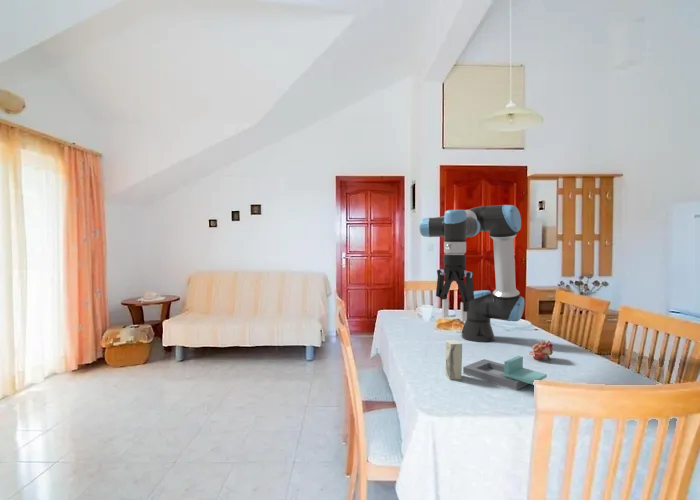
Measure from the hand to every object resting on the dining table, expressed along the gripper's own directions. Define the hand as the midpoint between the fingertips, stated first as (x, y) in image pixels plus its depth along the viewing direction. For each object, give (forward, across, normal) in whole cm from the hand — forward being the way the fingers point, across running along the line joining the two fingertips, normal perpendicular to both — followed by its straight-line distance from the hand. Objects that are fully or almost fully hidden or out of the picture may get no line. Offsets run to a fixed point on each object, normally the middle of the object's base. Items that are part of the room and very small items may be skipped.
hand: (454, 318), depth 138 cm
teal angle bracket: (+18, +19, +13) cm, 30 cm away
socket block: (+21, +10, +13) cm, 27 cm away
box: (+21, 0, 0) cm, 21 cm away
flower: (+21, +11, +44) cm, 50 cm away
